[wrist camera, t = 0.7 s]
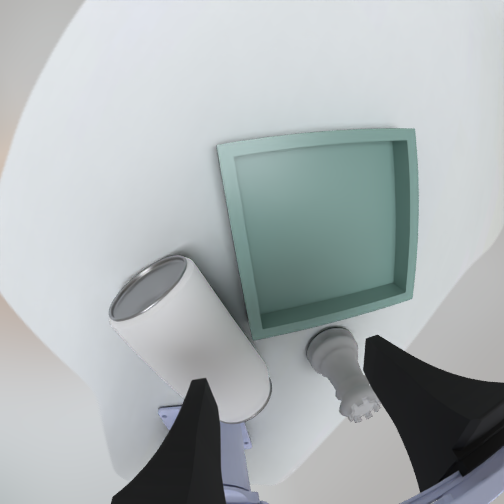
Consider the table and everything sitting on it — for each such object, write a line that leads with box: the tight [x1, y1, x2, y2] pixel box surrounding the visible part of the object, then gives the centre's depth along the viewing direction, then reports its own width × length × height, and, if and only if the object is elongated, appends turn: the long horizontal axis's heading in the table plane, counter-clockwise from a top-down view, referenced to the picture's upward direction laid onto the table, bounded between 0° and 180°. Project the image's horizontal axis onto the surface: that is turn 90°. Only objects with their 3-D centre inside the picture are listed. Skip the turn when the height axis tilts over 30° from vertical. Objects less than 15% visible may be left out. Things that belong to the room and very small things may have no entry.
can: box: [109, 255, 272, 424], centre depth 19 cm, size 6×6×12 cm
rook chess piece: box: [307, 328, 381, 423], centre depth 21 cm, size 4×4×8 cm
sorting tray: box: [216, 128, 419, 341], centre depth 19 cm, size 13×13×2 cm
